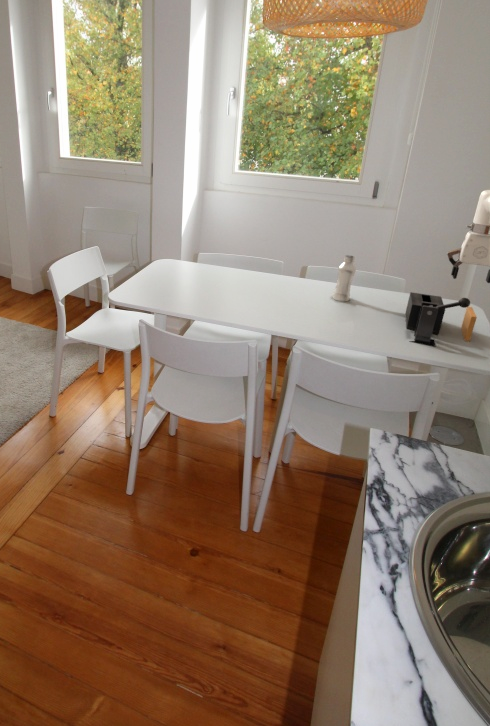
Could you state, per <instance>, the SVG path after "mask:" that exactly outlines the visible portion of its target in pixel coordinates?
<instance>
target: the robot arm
mask: <svg viewBox="0 0 490 726" xmlns="http://www.w3.org/2000/svg"><path fill="white" fill-rule="evenodd" d="M465 229H468V230H469V231H468V232H467V233H466V234H465V237H464V238H463V240H462V241H463V242H462V244H461V247H460V248H457V249H454V250H450V251H447V252H446V255H447V258H448V261H449V263H450V264H451V265H452V269H451V272H450V275H451V276H452V279H453V280H456V279H457V276H458V273H459V270H460V267H459V266H460V265H462V264H465V265H467V264H468V265H474V266H475V265H476V266H483V267H490V189H484V190H483V191H481V193H480V195H479V198H478V202H477V205H476V209H475V213H474V217H473V221H472V222H471V223H469V224H468V223H467V224H466V226H465ZM455 255H458V258H457V259H456V260H455V259H454V256H455ZM485 281H486V283H487V284H490V268H489V269H488V271H487V274H486V278H485Z"/></svg>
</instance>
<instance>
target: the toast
mask: <svg viewBox="0 0 490 726" xmlns="http://www.w3.org/2000/svg"><path fill="white" fill-rule="evenodd" d="M465 309H466V310H465V312H464V316H463V320H462V323H461V327H460V330H461V334H462V337H463V340H464V341H465V342H471V339H472V334H473V331H474V329H475V324H476V321H477V318H478V317H477V315H476V313H475V311H474V308H473V307H472V306H468V307H466V308H465ZM464 341H463V342H464Z"/></svg>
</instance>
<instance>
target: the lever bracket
mask: <svg viewBox="0 0 490 726" xmlns="http://www.w3.org/2000/svg"><path fill="white" fill-rule="evenodd" d="M428 305H433V307H431V306H428ZM436 306H437V304H436V303H430V302H423V301H422V304H421V308H420V312H419V316H418V320H417V324H416V328H415V331H414V332H413V337H414V340H409V341H408V342H409V343H413V344H419V345H423V346H427V347H433V348H436V347H437V345H436V342H435V341H436V340H435V339H431V338H432V335H433V334H432V332H433V328H434V324H435V320H436V316H437V313H438V308H437V307H436Z"/></svg>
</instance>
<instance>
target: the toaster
mask: <svg viewBox="0 0 490 726" xmlns="http://www.w3.org/2000/svg"><path fill="white" fill-rule="evenodd" d="M422 301H423V302H430V303H436V304H437V306H441V305H445V304H444V301H443V297H442V296H441V295H440V296H439V295H434V294H433V295H431V294H425V293H420V292H409V297H408V301H407V303H406V304H407V305H406V308H405V313H404V314H405V315H404V316H405V329H406V330H409V331H414V332H415V328H416V324H417V320H418V316H419V312H420V308H421V304H422ZM445 312H446V309H441V310H438V313H437V316H436V320H435V324H434V328H433V332H432V335H435V336H439V334H440V331H441V327H442V324H443V320H444V317H445Z"/></svg>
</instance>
